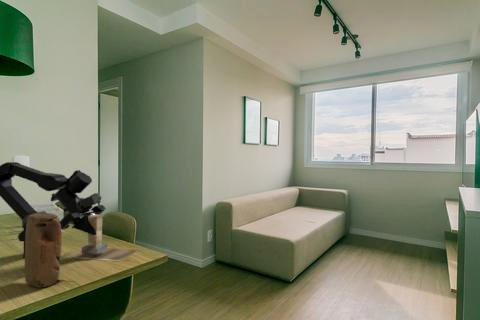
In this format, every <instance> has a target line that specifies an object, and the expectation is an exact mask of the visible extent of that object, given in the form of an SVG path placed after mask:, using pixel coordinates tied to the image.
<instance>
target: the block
mask: <svg viewBox="0 0 480 320" xmlns="http://www.w3.org/2000/svg"><path fill="white" fill-rule="evenodd" d="M62 234H63V233H62V231H61V225H60V220H59V217H58V216H57V215H55V214H51V213H47V214H34V215H29V216H28V217H27V223H26V236H25V258H24V276H25V277H24V278H25V279H24V280H25V282H26V284H27V285H28V286H31V287H35V288H38V289H40V288H44V287H49V286H52V285H55V284H56V283H57V282H58V281H59V279H60V259H61V255H62V244H63V243H62V242H63V241H62V238H63V237H62Z"/></svg>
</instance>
